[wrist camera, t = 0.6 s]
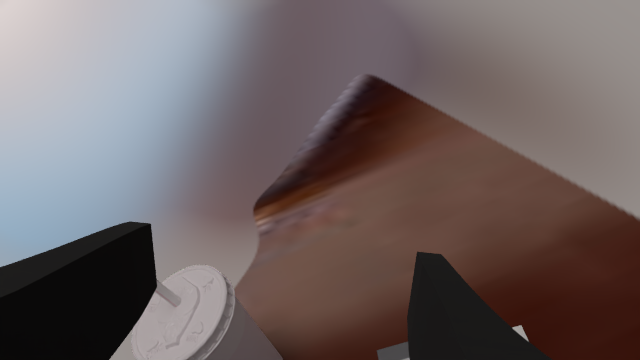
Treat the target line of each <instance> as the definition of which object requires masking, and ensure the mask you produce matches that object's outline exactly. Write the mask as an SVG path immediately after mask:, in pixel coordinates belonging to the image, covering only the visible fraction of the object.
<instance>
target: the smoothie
mask: <svg viewBox="0 0 640 360" xmlns="http://www.w3.org/2000/svg"><path fill="white" fill-rule="evenodd" d="M156 280H157V279H156ZM131 345H132V351H133V355H134V357H135V359H136V360H283V358H282V357H281V355H280V354H279V353H278V351H277V350H276V349H275V347H274V346H273V345H272V343H271V342H270V341H269V340H268V338H267V337H266V336H265V334H264V333H263V332H262V330H261V329H260V328H259V327H258V325H257V324H256V323H255V321H254V320H253V319H252V317H251V316H250V315H249V314H248V312H247V311H246V310H245V308H244V307H243V306H242V304H241V303H240V301H239V300H238V299H237V298H236V296H235V291H234V288H233V286H232V284H231V282H230V280H229V279H227V277H225V276H224V275H223V274H221V273H220V272H219V271H218V270H217V269H215V268H214V267H212V266H209V265H194V266H189V267H187V268H184V269H182V270H180V271H178V272H176V273H174V274H173V275H171V276H169V277H168V278H167V279H166V280H165V281H163V282H162V283H160V282H159V281H158V280H157V288H156V290H155V292H154V294H153V296H152V298H151V300H150V302H149V304H148V305H147V307H146V309H145V311H144V312H143V314H142V316H141V317H140V319H139V320H138V322H137V323H136V324H135V326H134V327H133V331H132V338H131Z"/></svg>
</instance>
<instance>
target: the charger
mask: <svg viewBox="0 0 640 360" xmlns="http://www.w3.org/2000/svg"><path fill="white" fill-rule="evenodd" d="M377 353H378V358H379V360H410V358H409V351H408V342H405V343H402V344H398V345H395V346H391V347H388V348H384V349H381V350H377Z"/></svg>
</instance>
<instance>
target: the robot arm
mask: <svg viewBox="0 0 640 360" xmlns="http://www.w3.org/2000/svg"><path fill="white" fill-rule="evenodd" d="M156 288H157V280H156V270H155V260H154V251H153V241H152V232H151V224H148V223H138V222H127V223H122V224H119V225H116V226H113V227H110V228H107V229H104V230H102V231H99V232H96V233H93V234H91V235H89V236H86V237H83V238H80V239H78V240H75V241H73V242H70V243H68V244H65V245H62V246H60V247H57V248H54V249H52V250H49V251H46V252H43V253H40V254H38V255H35V256H32V257H29V258H26V259H23V260H21V261H18V262H15V263H12V264H9V265H6V266H3V267H0V360H109V359H110V358H111V356H112V355H113V354H114V353H115V351H116V350H117V348H118V347H119V346H120V345H121V343H122V342H123V341H124V339H125V338H126V337H127V335H128V334H129V333H130V331H131V330H132V329H133V327H134V326H135V324H136V323H137V322H138V320H139V319H140V317H141V316H142V314H143V312H144V311H145V309H146V307H147V305H148V304H149V302H150V300H151V298H152V296H153V294H154V292H155V290H156ZM407 322H408V351H409V358H410V360H552V359H551V358H549V357H548V356H546V355H545V354H544V353H542V352H541V351H540V350H539V349H537V348H536V347H535V346H533V345H532V344H531V343H530V342H528V341H527V340H526V339H525V338H523V337H522V336H521V335H520V334H518V333H517V332H516V331H515V330H514V329H513V328H511V327H510V326H509V325H508V324H507V323H506V322H505V321H504V320H503V319H502V318H501V317H499V316H498V315H497V314H496V313H495V312H494V311H493V310H492V309H491V308H490V307H489V306H488V305H487V304H486V303H485V302H484V301H483V300H482V299H481V298H480V297H479V296H478V295H477V294H476V293H475V292H474V291H473V290H472V288H471V287H470V286H469V285H468V284H467V283H466V282H465V281H464V280H463V279H462V277H461V276H460V275H459V274H458V273H457V272H456V271H455V269H454V268H453V267H452V266H451V265H450V264H449V262H448V261H447V260H446V259H445V258H444V257H443V256H442V255H441V254H433V253H424V252H417V256H416V263H415V269H414V276H413V283H412V289H411V296H410V303H409V309H408V316H407Z"/></svg>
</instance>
